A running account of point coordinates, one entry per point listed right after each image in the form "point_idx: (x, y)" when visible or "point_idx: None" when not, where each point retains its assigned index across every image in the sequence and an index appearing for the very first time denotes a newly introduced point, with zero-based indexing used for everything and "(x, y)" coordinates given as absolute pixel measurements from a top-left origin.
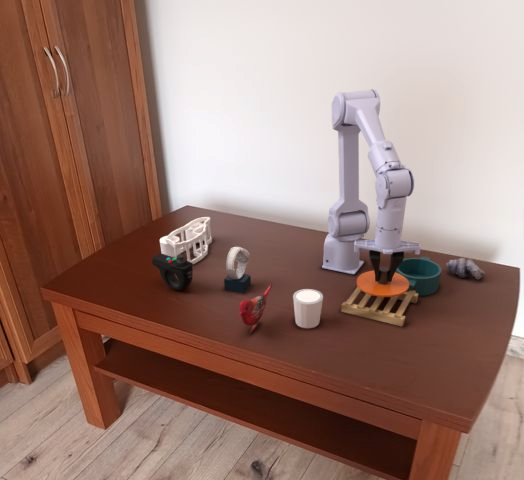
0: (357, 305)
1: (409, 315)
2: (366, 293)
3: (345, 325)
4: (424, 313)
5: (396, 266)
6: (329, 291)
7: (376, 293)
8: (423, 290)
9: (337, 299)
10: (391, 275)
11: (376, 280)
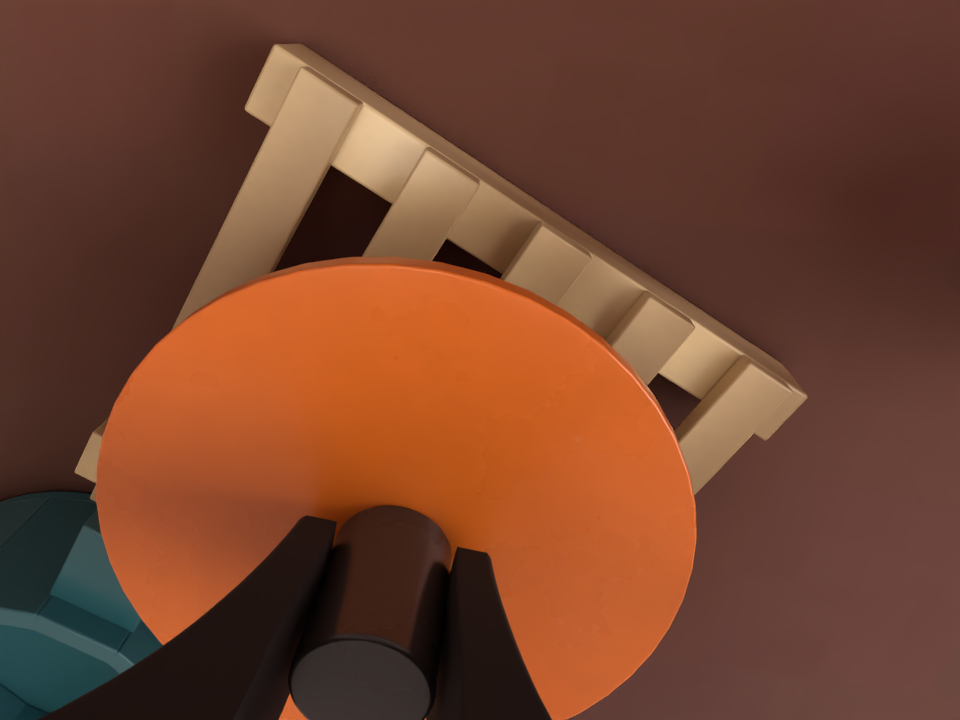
0: (686, 338)
1: (204, 231)
2: None
3: (831, 140)
4: (70, 245)
5: (161, 672)
6: (758, 633)
7: (538, 327)
8: (34, 519)
9: (739, 532)
10: (282, 572)
11: (479, 558)
